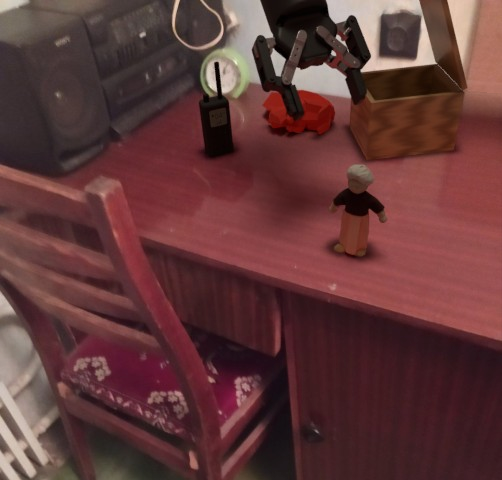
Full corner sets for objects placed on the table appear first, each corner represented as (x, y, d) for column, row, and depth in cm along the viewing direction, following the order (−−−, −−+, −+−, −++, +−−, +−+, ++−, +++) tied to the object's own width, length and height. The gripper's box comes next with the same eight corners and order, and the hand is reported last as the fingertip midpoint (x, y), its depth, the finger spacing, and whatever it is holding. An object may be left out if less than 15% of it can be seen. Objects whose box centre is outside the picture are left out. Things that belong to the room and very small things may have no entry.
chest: (366, 162, 96) (371, 103, 89) (349, 129, 105) (352, 73, 98) (453, 151, 97) (464, 92, 90) (428, 119, 106) (437, 63, 99)
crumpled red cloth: (278, 104, 115) (277, 77, 112) (343, 121, 108) (344, 93, 104) (241, 126, 109) (238, 99, 105) (306, 146, 102) (306, 118, 98)
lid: (438, -10, 80) (474, -30, 78) (410, -32, 89) (442, -50, 87) (462, 90, 90) (494, 74, 88) (435, 62, 99) (464, 46, 97)
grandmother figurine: (323, 256, 79) (325, 170, 70) (329, 240, 81) (332, 155, 72) (381, 263, 77) (390, 176, 68) (385, 246, 79) (395, 160, 70)
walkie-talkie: (210, 159, 100) (198, 69, 90) (203, 151, 103) (192, 63, 92) (236, 153, 101) (227, 63, 91) (229, 145, 104) (220, 57, 93)
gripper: (327, -6, 78) (367, 110, 78) (228, 15, 74) (270, 135, 75) (350, -45, 70) (393, 83, 71) (241, -25, 67) (287, 109, 67)
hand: (330, 110), depth 73 cm, fingers open, 8 cm apart
